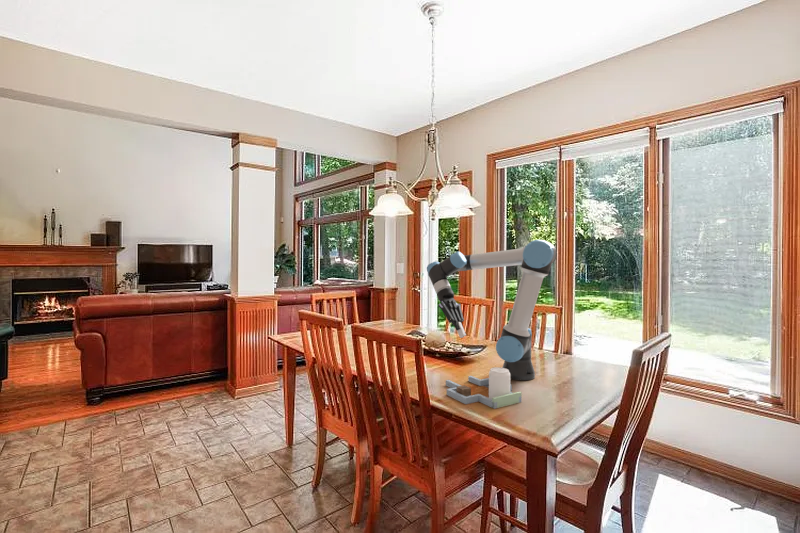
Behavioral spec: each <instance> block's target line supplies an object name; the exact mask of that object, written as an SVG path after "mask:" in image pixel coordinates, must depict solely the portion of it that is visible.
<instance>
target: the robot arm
mask: <svg viewBox="0 0 800 533" xmlns="http://www.w3.org/2000/svg"><path fill="white" fill-rule="evenodd" d="M557 255H558V253H557V248H556V247H555V245H554V244H553V243H552V242H550V241H547V240H543V239H539V238H538V239H534V240H531V241H529V242H528V243H527V244H526V245H524V246H523V247H520V248H515V249H514V248H513V249H507V250H499V251H498V250H496V251H489V252H483V253H481V252H480V253H475V254H474V253H473V254H466V255H465V254H464V253H462V252H461V251H459V250H458V251H456V252H454V253H452V254H450V256H447V258H445V259H444V260H442V261H441V262H439V261H433V262H430V263H429V264H427V266H426V272H427V276H428V277H429V280H430V282H431V284H432V286H433V289H434V291H435V294H436V297H437V299H438V301H439V302H440V303H438V308H440V309H441V311H442V313H443V314H444V316H445V318H446V320H447V321H448V323H449V324H451V326H454V328H455V330H456V333H457V334H458V337H459V338H461V339H462V338H464V337H466V336H467V334H466V331H465V328H464V324H463V323H462V322H464V321H465V319H464V316H463V311H462V304H461V303H457V301H456V300H455V292H454V291H453V288H452V286H451V284H450V282H449V280H448V277H450V276H451V275H453V274H454V273H456V272H465V271H473V270H483V269H491V268H492V269H493V268H501V267H503V268H504V267H512V266H520V269H521V271H522V275H521V278H520V281H519V285H518V288H517V293H516V294H515V298H514V302H513V306H512V310H511V313H510V316H509V320H508V323H507V324H505V325H504V326H503V328H502V331H501V334H500V337H499V338H498V340H497V341H496V344H495V351H496V354H497V355H498V356H499V358H500V359H501V360H502V361H504V362H503V365H502V367H501V368H506V369H508V370H509V372H510V380H515V381H531V380H534V379H535V378H536V371H535V368H534V365H533V362H532V336H533V334H532V329H531V328H529V327H530V323H531V320H532V317H533V314H534V310H535V306H536V304H537V300H538V296H539V294H540V291H541V286H542V284H543V280H544V278H545V277H547V276H549V273H550V270H551V269H552V264H554V263H555V261H556V259H557Z"/></svg>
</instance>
